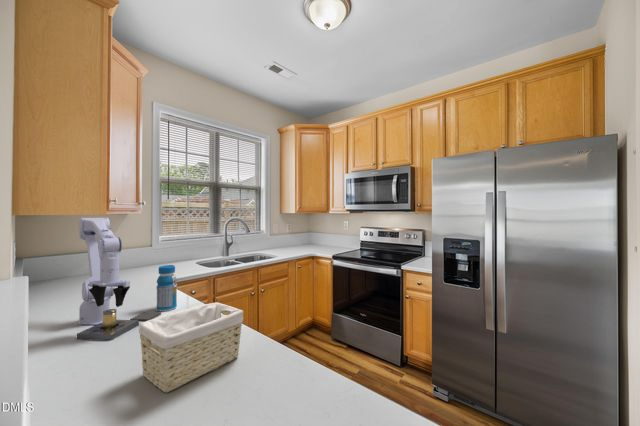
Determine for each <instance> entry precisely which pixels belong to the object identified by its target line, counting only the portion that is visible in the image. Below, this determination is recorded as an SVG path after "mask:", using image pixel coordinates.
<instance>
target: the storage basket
mask: <svg viewBox="0 0 640 426" xmlns="http://www.w3.org/2000/svg"><path fill="white" fill-rule="evenodd" d="M222 315H224V316H222ZM243 322H244V310H243V309H239V308H236V307H233V306H230V305H228V304H224V303H221V302H218V301H217V302H211V303H206V304H201V305H197V306H195V307H191V308H187V309H184V310H179V311H177V312H173V313H167V314H165V315H162V316H161V315H160V316H157V317H155V318H153V319H151V320H148V321H141V323H139V325H138V327H139V329H138V333H139V338H140V346H141V360H142V363H141V365H142V375H143V376H144V377H145V378H146V379H147V380H148V381H149V382H150V383H152V384H153V385H154V386H155V387H157V388H158V389H159V390H161V392H164V393H169V392H171V391H173V390H176V389H177V388H180V387H181V386H183V385H185V384H187V383H189V382H191V381H194V380H196V379H197V378H199V377H201V376H203V375H206V374H207V373H210V372H212V371H215V370H216V369H219V368H220V367H222V366H224V365H225V364H227V363H230V362H231V361H234V360H236V359H237V358H238V357H239V351H240V350H239V349H240V343H241V334H242V325H243Z"/></svg>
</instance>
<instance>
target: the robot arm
mask: <svg viewBox="0 0 640 426" xmlns="http://www.w3.org/2000/svg"><path fill="white" fill-rule="evenodd" d="M110 226H111V221H110V219H109V217H107V216H106V217H80V218H79V219H78V236H79V239H80V240H83V241H85V244H86V250H87V258H88V260H87V261H88V269H89V277H88V278H87V279H86V280H84V282H83V283H82V285H81V298H82V302H81V303H80V306H79V310H78V311H79V315H78V316H79V321H78V322H77V325H89V326H90V325H91V326H92V325H93V326H95V325H97V324H99V323H102V322H103V311H105V310H108V309H111V308H110V303H111V302H110V300H111V299H112V297H113V296H114V298H115V307H117V308H119V307H121V306H123V304H124V300H125V297H126V294H127V293H128V291H129V290H130V288H131V281H130V280H124V279H120V253H121V252H122V248H123V243H122V239H121V237H120V236H115V234H114V232H113V231H112V230H110V228H111V227H110Z"/></svg>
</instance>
